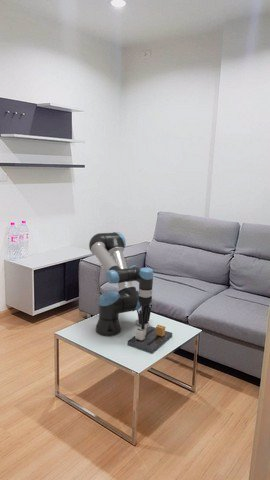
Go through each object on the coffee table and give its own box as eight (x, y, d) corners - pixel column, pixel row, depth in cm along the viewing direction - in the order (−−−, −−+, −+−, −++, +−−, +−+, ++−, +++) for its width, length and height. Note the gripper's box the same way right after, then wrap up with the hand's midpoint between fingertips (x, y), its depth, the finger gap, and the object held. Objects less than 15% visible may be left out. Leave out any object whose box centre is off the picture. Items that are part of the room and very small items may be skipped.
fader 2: (155, 334, 210) (156, 326, 209) (158, 332, 213) (158, 324, 212) (162, 336, 208) (162, 328, 207) (164, 334, 211) (165, 326, 209)
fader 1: (135, 338, 205) (135, 329, 204) (138, 336, 207) (138, 327, 206) (141, 340, 203) (142, 331, 201) (144, 338, 205) (145, 329, 204)
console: (127, 344, 203) (127, 340, 202) (148, 329, 223) (149, 325, 222) (152, 353, 195) (152, 349, 194) (172, 336, 215) (172, 332, 214)
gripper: (144, 300, 195) (142, 340, 200) (156, 293, 206) (154, 332, 211) (133, 297, 199) (131, 336, 204) (145, 290, 210) (144, 328, 215)
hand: (143, 334), depth 208 cm, fingers closed
